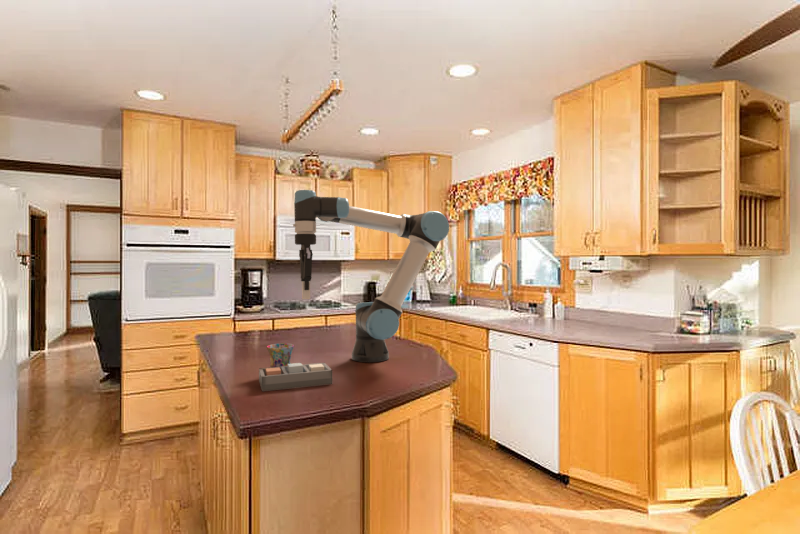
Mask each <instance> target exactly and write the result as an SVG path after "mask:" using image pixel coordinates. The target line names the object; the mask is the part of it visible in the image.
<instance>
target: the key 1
mask: <svg viewBox="0 0 800 534" xmlns="http://www.w3.org/2000/svg"><path fill="white" fill-rule="evenodd" d="M266 368H267V369H266V376H268V375H279V374H281V369H280V367H278V368H269V367H266Z"/></svg>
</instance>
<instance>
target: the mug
mask: <svg viewBox="0 0 800 534" xmlns="http://www.w3.org/2000/svg"><path fill="white" fill-rule="evenodd" d="M294 347H295V345H294V343H293V344H292V343H283V342H281V343H273V344H269V345H267V346H266V350H267V352H268V354H269V358H270V359H269V360H270V361H269V362H270V366H269V367H281V366H288V365H287V364H292V363H291V358H292V353H293V350H294Z"/></svg>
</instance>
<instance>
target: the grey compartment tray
mask: <svg viewBox="0 0 800 534" xmlns="http://www.w3.org/2000/svg"><path fill="white" fill-rule="evenodd" d="M313 364H322V365H323V366H324V370H322V371H311V372H310V371H309V365H313ZM302 365H303V372H300V373H290V374H289V373H288V366H281V367H280V369H281V374H279V375H268V376H266V369H267V368H278V367H270V366H269V367H260V368H258V383H259V385H260V389H261V391H262V392H270V391H278V390H288V389H289V390H291V389H299V388H306V387H307V388H308V387H317V386H326V385H333V370H332V368H331V367H330V366H329V365H328V364H327V363H325V362H316V363H315V362H314V363H305V364H303V363H302Z"/></svg>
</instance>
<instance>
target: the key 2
mask: <svg viewBox="0 0 800 534" xmlns="http://www.w3.org/2000/svg"><path fill="white" fill-rule="evenodd" d="M312 364H313V365H309V371H310V372H311V371H322V370H324V366H323V365H322V364H315V363H312Z"/></svg>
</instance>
